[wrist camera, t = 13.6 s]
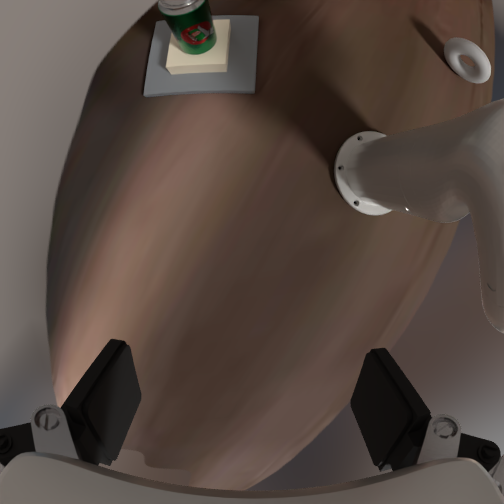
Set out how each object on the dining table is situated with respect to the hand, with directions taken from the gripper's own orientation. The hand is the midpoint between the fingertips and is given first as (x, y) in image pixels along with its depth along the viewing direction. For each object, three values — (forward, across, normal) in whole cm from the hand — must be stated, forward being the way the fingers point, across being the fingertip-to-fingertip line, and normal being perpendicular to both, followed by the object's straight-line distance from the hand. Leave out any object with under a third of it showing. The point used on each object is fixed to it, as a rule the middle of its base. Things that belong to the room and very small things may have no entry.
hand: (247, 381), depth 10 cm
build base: (+30, +8, -27) cm, 41 cm away
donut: (+31, -37, -35) cm, 59 cm away
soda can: (+26, +8, -27) cm, 38 cm away
